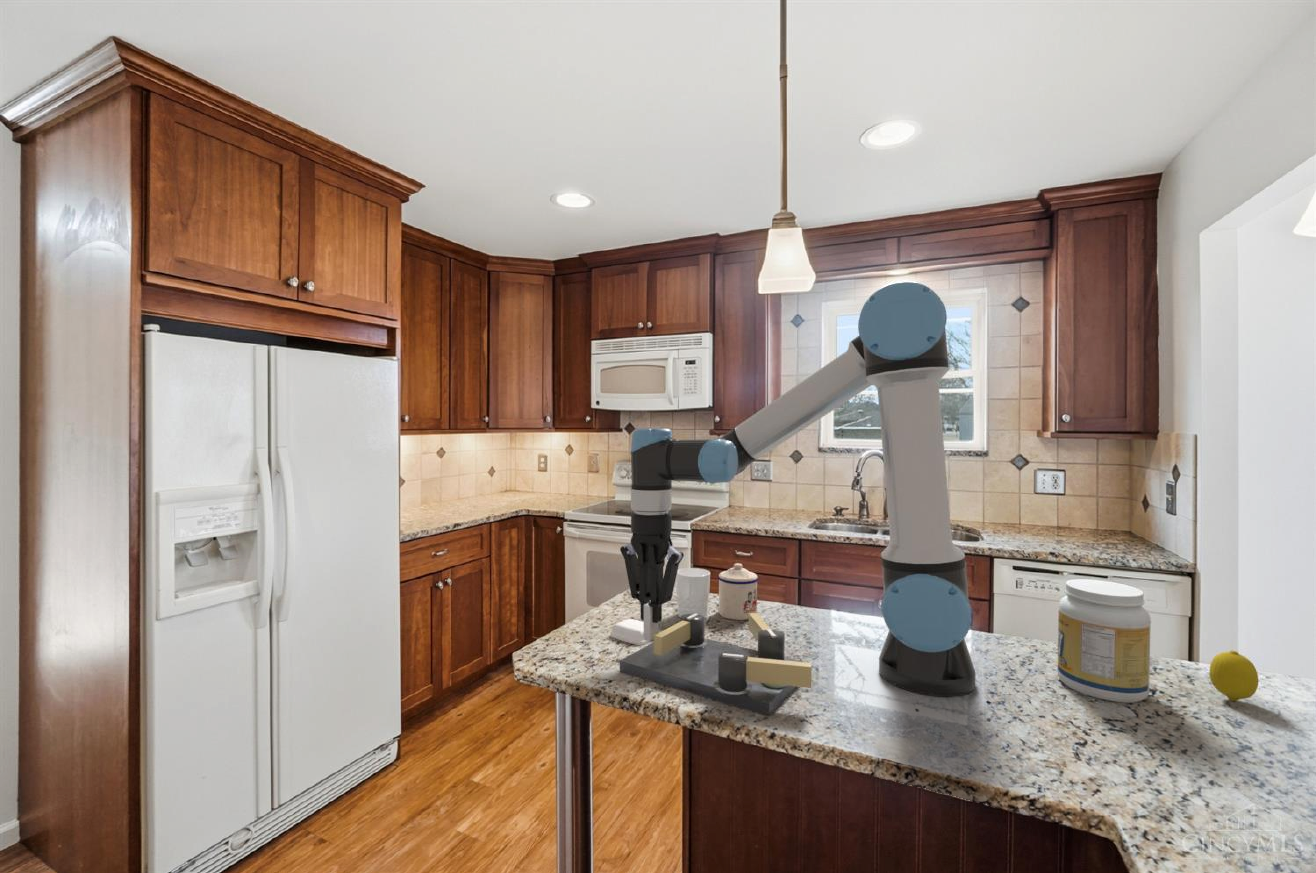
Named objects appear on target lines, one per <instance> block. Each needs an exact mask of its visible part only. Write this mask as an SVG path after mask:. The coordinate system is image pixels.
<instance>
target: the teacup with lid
mask: <svg viewBox="0 0 1316 873" xmlns="http://www.w3.org/2000/svg"><path fill="white" fill-rule="evenodd" d="M717 579H718V580H719V581H718V614H719V615H720V617H723V618H725V619H727V620H733V621H746V620H748V621H749V613H757V614H758V581H759V577H758V575H757V574H756V573H754V572H752V571H749V570H748V569H746V568H744V567H743V564H742V563H738V562H737V563H734V564H733V567H731V568H728V569H727V570H724V571H722V572H720V573H719V574H718V576H717Z"/></svg>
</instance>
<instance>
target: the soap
mask: <svg viewBox="0 0 1316 873" xmlns="http://www.w3.org/2000/svg"><path fill="white" fill-rule="evenodd" d="M611 630H612V631H611V632H610V634H609V636H610V637H611V638H613V639H617V640H620V641H622V642H626V643H629V644H631V645H637V646H645V645H646V644H649V643H650V642H651V641H646V640H644V621H642V620H636V619H632V618H628V619H624V620H622V621H619V622H617V623H615V624H614V625H613V626H612V629H611Z"/></svg>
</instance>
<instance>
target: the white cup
mask: <svg viewBox="0 0 1316 873" xmlns="http://www.w3.org/2000/svg"><path fill="white" fill-rule="evenodd" d="M710 581H711V572H710V570H707V569H704V568H698V567H685V568H680V569H679V568H678V571H677V575H676V580H675V592H676V604H677V616H678V617H679V618H680V617H681V616H682V615H684V614H695V613H696V614H699V615H702V616H704V617H705V619H706V618H707V617H708V616H709V615H708V611H709V610H708V609H709V601H710V588H711V587H710V586H711V585H710V583H711V582H710Z"/></svg>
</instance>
